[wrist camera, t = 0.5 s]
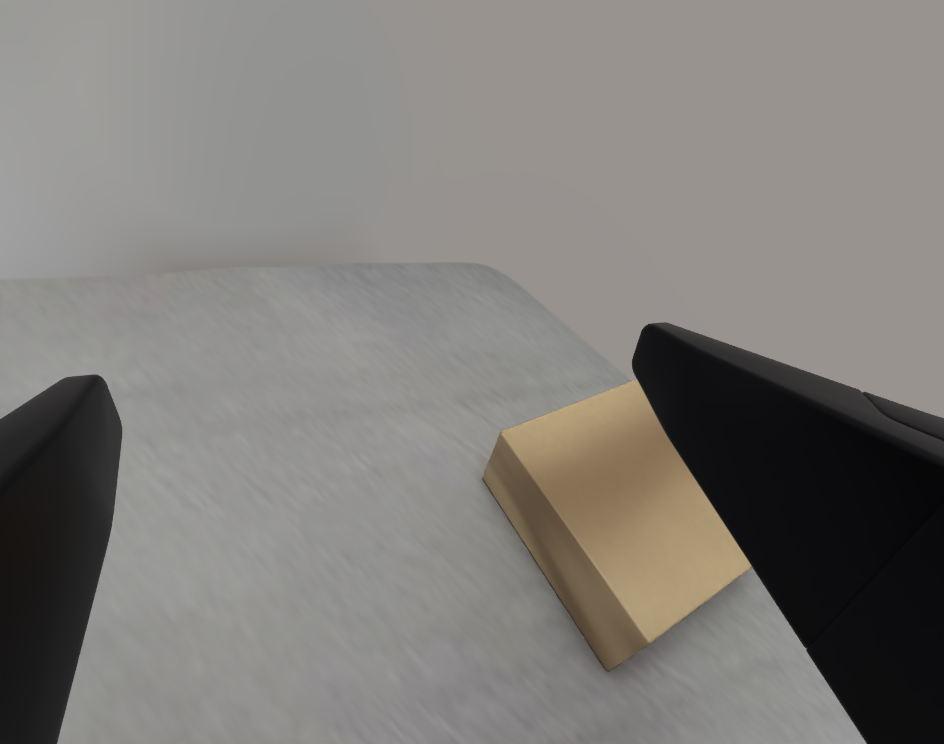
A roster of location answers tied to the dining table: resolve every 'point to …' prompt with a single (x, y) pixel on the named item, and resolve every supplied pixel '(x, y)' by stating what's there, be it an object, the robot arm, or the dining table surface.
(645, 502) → the stand
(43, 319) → the dining table surface
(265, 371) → the dining table surface
